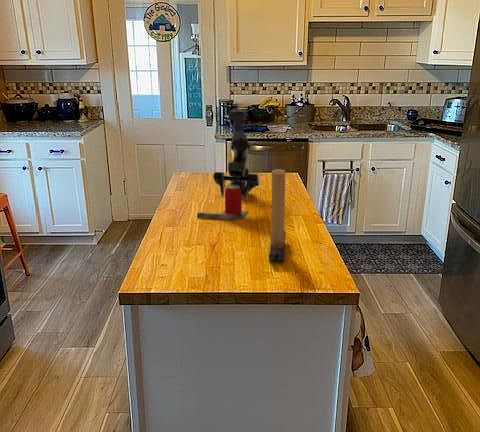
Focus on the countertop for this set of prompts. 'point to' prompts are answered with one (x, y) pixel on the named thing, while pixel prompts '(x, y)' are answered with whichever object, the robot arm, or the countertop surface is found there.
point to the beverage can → (233, 200)
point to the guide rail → (216, 215)
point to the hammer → (278, 216)
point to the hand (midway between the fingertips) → (233, 196)
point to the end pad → (240, 216)
